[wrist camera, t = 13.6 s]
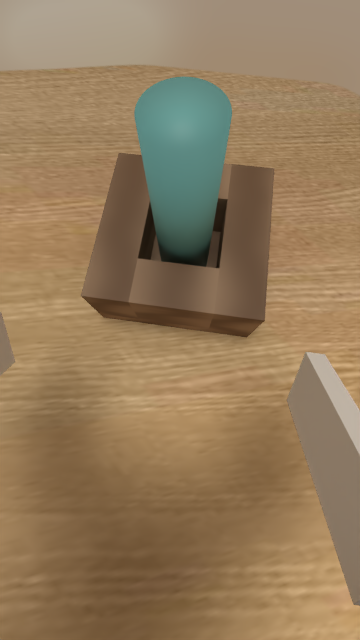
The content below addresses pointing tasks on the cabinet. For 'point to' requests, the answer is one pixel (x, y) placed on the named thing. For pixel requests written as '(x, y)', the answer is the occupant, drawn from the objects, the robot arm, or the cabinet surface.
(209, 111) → the peg
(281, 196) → the cabinet surface
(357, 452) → the robot arm
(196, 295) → the socket block
